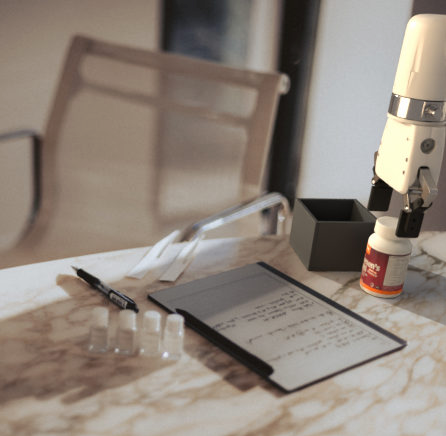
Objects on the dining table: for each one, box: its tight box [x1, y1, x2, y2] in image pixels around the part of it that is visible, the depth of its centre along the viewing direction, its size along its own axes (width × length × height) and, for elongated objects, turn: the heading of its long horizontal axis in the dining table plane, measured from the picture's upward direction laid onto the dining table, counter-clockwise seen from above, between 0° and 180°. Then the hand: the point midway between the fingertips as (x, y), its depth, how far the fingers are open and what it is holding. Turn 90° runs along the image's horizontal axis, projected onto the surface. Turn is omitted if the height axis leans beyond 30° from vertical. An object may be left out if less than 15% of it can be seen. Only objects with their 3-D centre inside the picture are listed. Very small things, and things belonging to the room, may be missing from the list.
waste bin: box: [288, 197, 378, 272], centre depth 105 cm, size 11×11×9 cm
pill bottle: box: [359, 215, 413, 299], centre depth 94 cm, size 6×6×11 cm
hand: (391, 223), depth 92 cm, fingers open, 9 cm apart
